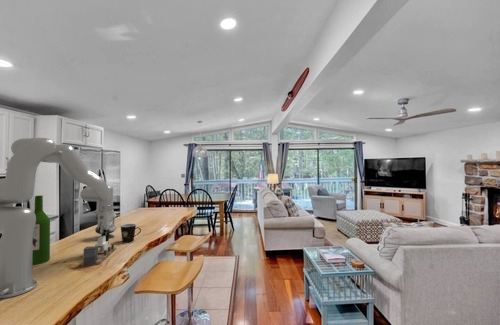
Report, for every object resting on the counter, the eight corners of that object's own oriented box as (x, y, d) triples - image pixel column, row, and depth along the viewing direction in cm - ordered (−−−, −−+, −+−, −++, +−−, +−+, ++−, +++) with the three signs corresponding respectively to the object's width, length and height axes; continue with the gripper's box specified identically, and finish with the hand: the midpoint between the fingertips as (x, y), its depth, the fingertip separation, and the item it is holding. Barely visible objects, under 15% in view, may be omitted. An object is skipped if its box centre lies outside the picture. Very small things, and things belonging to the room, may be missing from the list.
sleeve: (104, 252, 129) (104, 238, 129) (95, 253, 128) (95, 238, 128) (107, 249, 133) (108, 235, 134) (99, 249, 133) (99, 235, 133)
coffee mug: (117, 242, 152) (117, 226, 152) (129, 238, 160) (129, 223, 160) (129, 245, 147) (129, 228, 147) (141, 241, 154) (142, 225, 154)
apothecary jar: (107, 240, 155) (107, 212, 155) (90, 239, 157) (90, 211, 157) (120, 235, 167) (120, 208, 167) (104, 234, 169) (104, 208, 169)
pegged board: (99, 264, 118) (99, 247, 118) (78, 265, 116) (79, 249, 116) (116, 248, 140) (116, 234, 140) (99, 249, 138) (99, 235, 138)
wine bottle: (21, 266, 116) (22, 197, 116) (32, 259, 124) (33, 195, 125) (43, 264, 118) (44, 196, 118) (53, 257, 127) (54, 194, 127)
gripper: (107, 210, 129) (107, 245, 128) (117, 206, 143) (117, 237, 143) (91, 211, 127) (91, 246, 127) (103, 206, 142) (103, 238, 142)
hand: (105, 241), depth 135 cm, fingers closed
